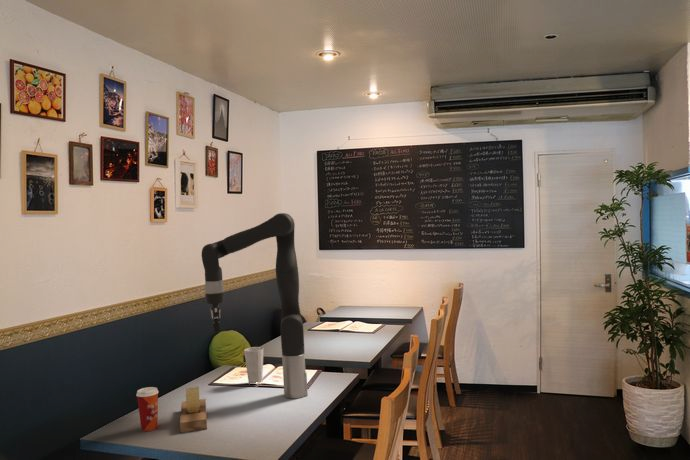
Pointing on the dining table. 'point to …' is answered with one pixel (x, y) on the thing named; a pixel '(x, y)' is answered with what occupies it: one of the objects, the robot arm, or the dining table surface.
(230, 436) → the dining table surface
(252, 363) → the cup
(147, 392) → the paper cup
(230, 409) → the dining table surface
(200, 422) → the brown flat wooden block
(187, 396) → the tan boxy piece
